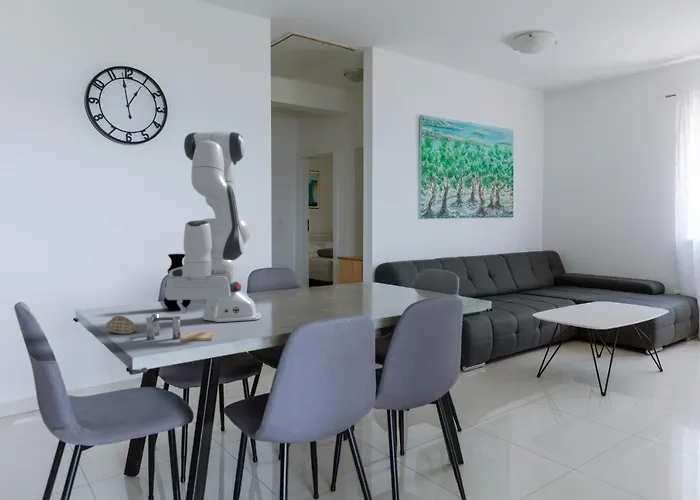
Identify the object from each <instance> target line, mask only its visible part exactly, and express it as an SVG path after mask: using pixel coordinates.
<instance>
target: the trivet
mask: <svg viewBox="0 0 700 500" xmlns="http://www.w3.org/2000/svg"><path fill="white" fill-rule="evenodd" d="M215 335H216V332H212V331H211V332H208V331H207V332H187V333H185V335H184V336H183V337H181V338H182V339H181V341H182V342H198V341H199V342H200V341H213V338H214V337H215Z"/></svg>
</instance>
